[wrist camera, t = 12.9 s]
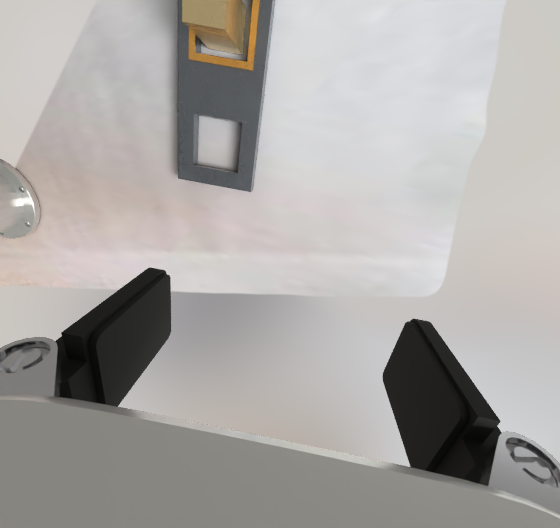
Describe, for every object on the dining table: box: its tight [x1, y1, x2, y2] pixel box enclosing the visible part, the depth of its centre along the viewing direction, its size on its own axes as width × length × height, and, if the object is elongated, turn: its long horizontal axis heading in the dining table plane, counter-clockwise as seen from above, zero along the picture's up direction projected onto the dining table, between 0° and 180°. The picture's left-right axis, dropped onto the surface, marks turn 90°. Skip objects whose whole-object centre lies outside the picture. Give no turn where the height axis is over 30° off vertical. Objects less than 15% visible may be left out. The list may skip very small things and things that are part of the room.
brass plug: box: [182, 0, 246, 54], centre depth 26 cm, size 4×4×7 cm
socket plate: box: [178, 0, 275, 192], centre depth 31 cm, size 22×10×2 cm, turn 171°
